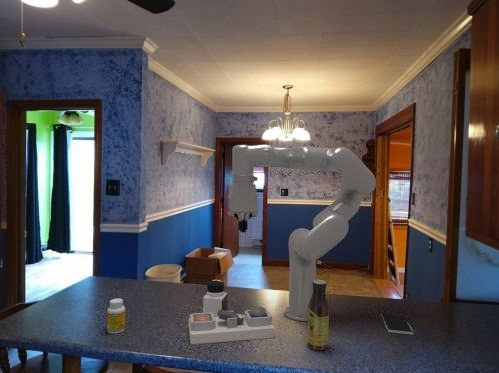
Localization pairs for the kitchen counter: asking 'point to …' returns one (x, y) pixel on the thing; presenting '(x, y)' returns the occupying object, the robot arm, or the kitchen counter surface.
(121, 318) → the supplement bottle
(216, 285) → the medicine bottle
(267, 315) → the switch panel
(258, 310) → the slate button
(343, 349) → the kitchen counter surface
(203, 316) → the terracotta button
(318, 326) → the sauce bottle
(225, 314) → the block
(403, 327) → the smartphone
